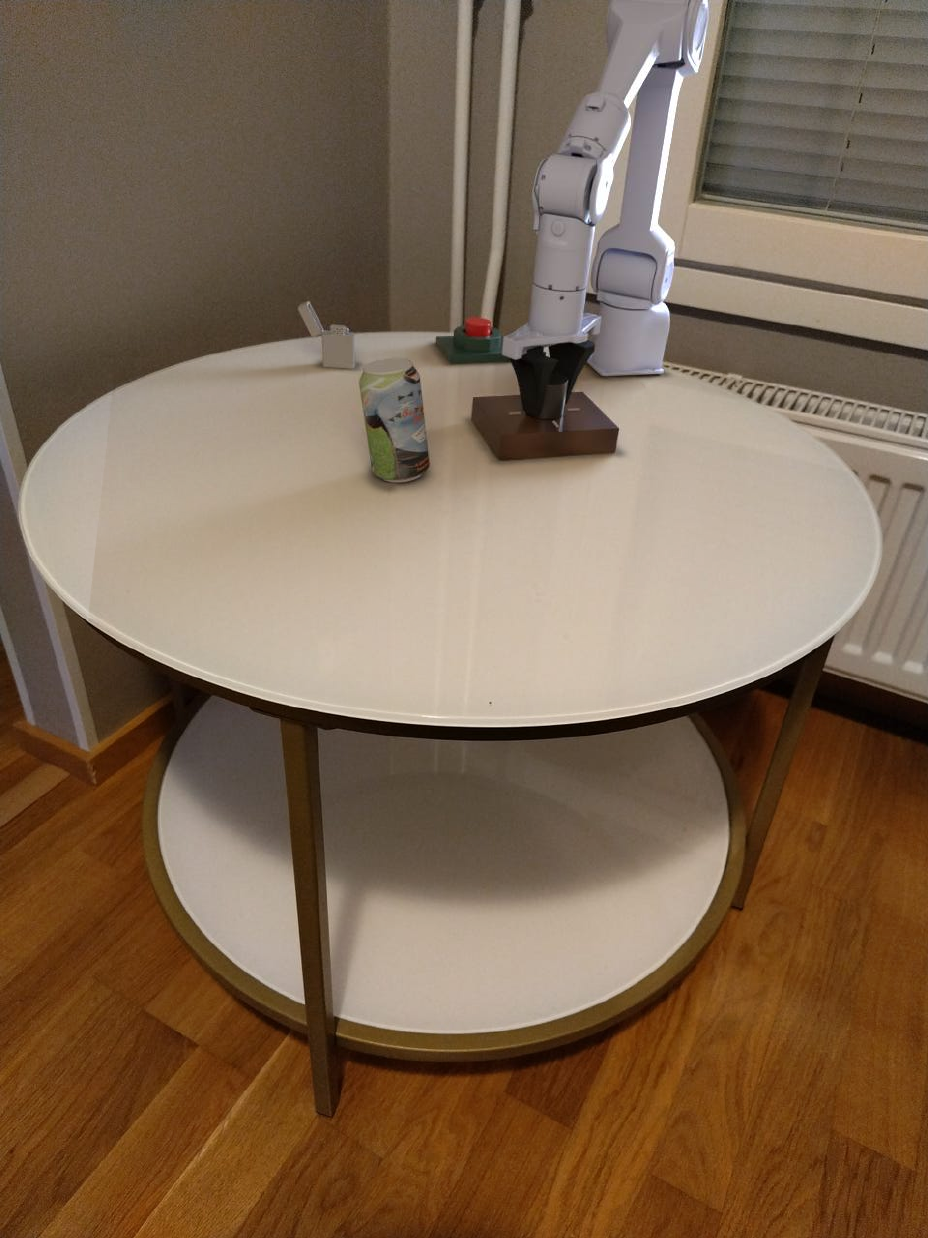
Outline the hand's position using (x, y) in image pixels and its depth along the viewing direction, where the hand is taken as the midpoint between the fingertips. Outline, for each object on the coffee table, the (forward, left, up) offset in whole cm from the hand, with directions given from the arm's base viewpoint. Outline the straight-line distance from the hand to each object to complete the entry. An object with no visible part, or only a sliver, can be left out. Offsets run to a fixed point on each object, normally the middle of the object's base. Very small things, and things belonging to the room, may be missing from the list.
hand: (544, 407), depth 98 cm
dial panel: (0, 0, -4) cm, 4 cm away
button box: (-1, -29, -4) cm, 29 cm away
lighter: (+21, -26, -4) cm, 34 cm away
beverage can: (+19, +7, -4) cm, 21 cm away
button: (-1, -29, -1) cm, 29 cm away
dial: (0, 0, -1) cm, 1 cm away
